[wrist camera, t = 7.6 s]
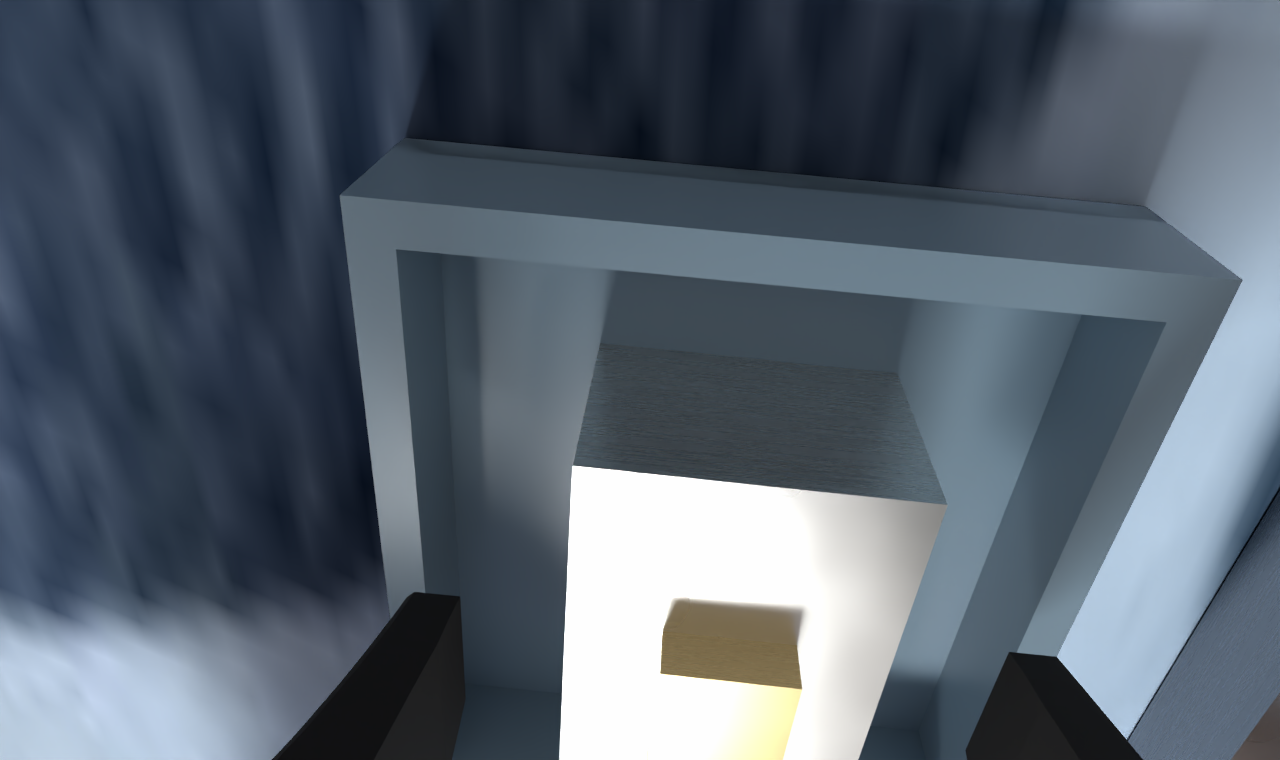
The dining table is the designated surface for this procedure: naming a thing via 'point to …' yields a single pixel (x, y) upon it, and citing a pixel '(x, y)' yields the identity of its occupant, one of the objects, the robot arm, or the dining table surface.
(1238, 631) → the hand plane
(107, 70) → the dining table surface
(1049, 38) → the dining table surface
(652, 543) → the white yellow block
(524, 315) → the tray
